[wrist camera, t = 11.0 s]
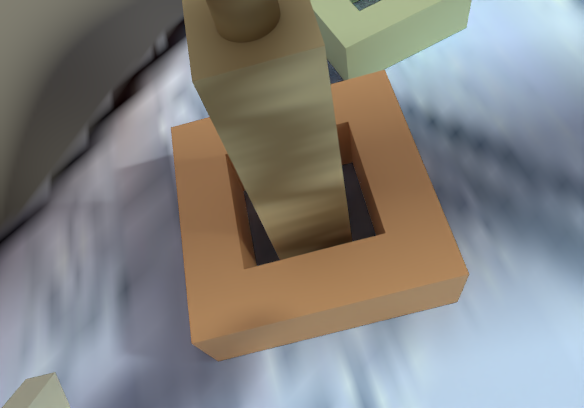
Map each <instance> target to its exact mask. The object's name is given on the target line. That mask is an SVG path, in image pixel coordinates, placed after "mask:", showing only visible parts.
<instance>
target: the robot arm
mask: <svg viewBox="0 0 584 408" xmlns="http://www.w3.org/2000/svg"><path fill="white" fill-rule="evenodd" d="M2 408H70V405H69V403H68V401H67V398H66V396H65V394H64V392H63V389H62V387H61V385H60V382H59V380H58V378H57V376H56V373H55V372H54V373H50V374H46V375H42V376H38V377H33V378H29V379H26V380H25V381H24V382H23V383H22V384H21V386H20V387H19V388H18V389H17V390H16V392H15V393H14V394H13V395H12V396H11V398H10V399H9V400H8V401H7V402H6V404H5V405H4V406H3V407H2Z"/></svg>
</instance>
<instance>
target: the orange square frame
mask: <svg viewBox="0 0 584 408" xmlns="http://www.w3.org/2000/svg"><path fill="white" fill-rule="evenodd" d="M330 85H331V92H332V99H333V106H334V113H335V121H336V128H337V135H338V142H339V149H340V156H341V164H342V165H344V164H348V163H353V166H354V169H355V172H356V175H357V178H358V181H359V184H360V187H361V190H362V193H363V197H364V200H365V203H366V206H367V209H368V212H369V215H370V218H371V221H372V224H373V227H374V231H375V234H376V236H373V237H369V238H365V239H361V240H357V241H353V242H349V243H345V244H341V245H337V246H333V247H330V248H326V249H322V250H318V251H314V252H310V253H306V254H302V255H298V256H294V257H291V258H287V259H283V260H279V261H275V262H271V263H267V264H263V265H259V266H257V264H256V258H255V252H254V247H253V241H252V235H251V230H250V224H249V219H248V213H247V207H246V202H245V196H244V191H246V190H245V188H244V186H243V184H242V182H241V180H240V178H239V176H238V174H237V171H236V169H235V167H234V165H233V163H232V161H231V159H230V157H229V155H228V153H227V151H226V149H225V147H224V145H223V143H222V141H221V139H220V137H219V135H218V133H217V131H216V129H215V127H214V125H213V123H212V121H211V119H210V117H208V118H205V119H201V120H197V121H194V122H190V123H186V124H182V125H179V126H175V127H171V133H172V144H173V154H174V165H175V175H176V186H177V196H178V207H179V217H180V228H181V238H182V248H183V259H184V269H185V280H186V290H187V301H188V311H189V322H190V332H191V342H192V344H193V345H194V346H196V347H197V348H199V349H200V350H202V351H203V352H205V353H206V354H208V355H209V356H211V357H212V358H214V359H215V360H217V361H222V360H226V359H230V358H234V357H238V356H242V355H246V354H250V353H254V352H258V351H262V350H266V349H270V348H274V347H278V346H282V345H286V344H290V343H294V342H298V341H302V340H306V339H310V338H314V337H318V336H322V335H326V334H330V333H335V332H339V331H343V330H347V329H351V328H355V327H359V326H363V325H367V324H371V323H375V322H379V321H383V320H387V319H391V318H395V317H399V316H403V315H407V314H411V313H415V312H419V311H423V310H427V309H431V308H435V307H439V306H443V305H447V304H451V303H455V302H458V299H459V297H460V295H461V292H462V290H463V288H464V285H465V283H466V281H467V278H468V276H469V272H468V270H467V268H466V265H465V263H464V260H463V258H462V255H461V253H460V251H459V248H458V246H457V243H456V241H455V239H454V236H453V234H452V231H451V229H450V226H449V224H448V222H447V219H446V217H445V214H444V212H443V210H442V207H441V205H440V202H439V200H438V197H437V195H436V193H435V190H434V188H433V185H432V183H431V181H430V178H429V176H428V173H427V171H426V168H425V166H424V164H423V161H422V159H421V156H420V154H419V152H418V149H417V147H416V144H415V142H414V139H413V137H412V135H411V132H410V130H409V127H408V125H407V123H406V120H405V118H404V115H403V113H402V110H401V108H400V106H399V103H398V101H397V98H396V96H395V94H394V91H393V89H392V86H391V84H390V81H389V79H388V77H387V74H386V72H385V70H381V71H378V72H374V73H370V74H367V75H363V76H359V77H356V78H352V79H348V80H345V81H341V82H337V83H333V84H330Z"/></svg>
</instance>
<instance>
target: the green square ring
mask: <svg viewBox="0 0 584 408" xmlns="http://www.w3.org/2000/svg"><path fill="white" fill-rule="evenodd" d="M357 1H359V0H310V2H311V5H312V8H313V11H314V14H315V17H316V20H317V23H318V26H319V29H320V32H321V35H322V38H323V41H324V44H325V49H326V56H327V59H328V61H329V62H330V63H331V64H332V66H333V67H334V68H335V70H336V71H337V72H338V73H339V75H340V76H341V77H342V78H343V80H344V81H345V80H348V79H352V78H356V77H359V76H363V75H367V74H370V73H374V72H378V71H381V70H384V69H386V68H388V67H390V66H392V65H394V64H396V63H398V62H400V61H402V60H404V59H406V58H408V57H410V56H412V55H413V54H415V53H417V52H419V51H421V50H423V49H425V48H427V47H429V46H431V45H433V44H435V43H437V42H439V41H441V40H443V39H445V38H447V37H449V36H451V35H453V34H455V33H457V32H459V31H461V30H463V29H465V28H466V27H467V22H468V17H469V11H470V6H471V0H381V1H379V2H377V3H375V4H373V5H371V6H369V7H367V8H365V9H363V10H361V11H359V10H358V9H357V8H356V7H355V6H354V5H353V3H355V2H357Z"/></svg>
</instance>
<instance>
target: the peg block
mask: <svg viewBox="0 0 584 408" xmlns="http://www.w3.org/2000/svg"><path fill="white" fill-rule="evenodd" d="M182 4H183V12H184V20H185V28H186V36H187V44H188V52H189V59H190V67H191V75H192V82H193V84H194V86H195V88H196V90H197V92H198V94H199V96H200V98H201V100H202V102H203V104H204V106H205V108H206V110H207V112H208V115H209V117H210V119H211V121H212V123H213V125H214V127H215V129H216V131H217V133H218V135H219V137H220V139H221V141H222V143H223V145H224V147H225V149H226V151H227V153H228V155H229V157H230V159H231V161H232V163H233V165H234V167H235V169H236V171H237V174H238V176H239V178H240V180H241V182H242V184H243V186H244V188H245V190H246V192H247V194H248V196H249V198H250V200H251V202H252V204H253V206H254V208H255V210H256V212H257V214H258V216H259V218H260V220H261V222H262V224H263V226H264V228H265V230H266V233H267V235H268V237H269V239H270V241H271V243H272V245H273V247H274V249H275V251H276V253H277V255H278V257H279V259H280V260H283V259H287V258H291V257H294V256H298V255H302V254H306V253H310V252H314V251H318V250H322V249H326V248H330V247H333V246H337V245H341V244H345V243H349V242H352V235H351V228H350V221H349V214H348V206H347V199H346V192H345V185H344V178H343V171H342V164H341V156H340V149H339V142H338V135H337V128H336V121H335V113H334V106H333V99H332V92H331V85H330V78H329V70H328V63H327V56H326V49H325V44H324V41H323V38H322V35H321V32H320V29H319V26H318V23H317V20H316V17H315V14H314V11H313V8H312V5H311V2H310V0H182Z"/></svg>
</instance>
